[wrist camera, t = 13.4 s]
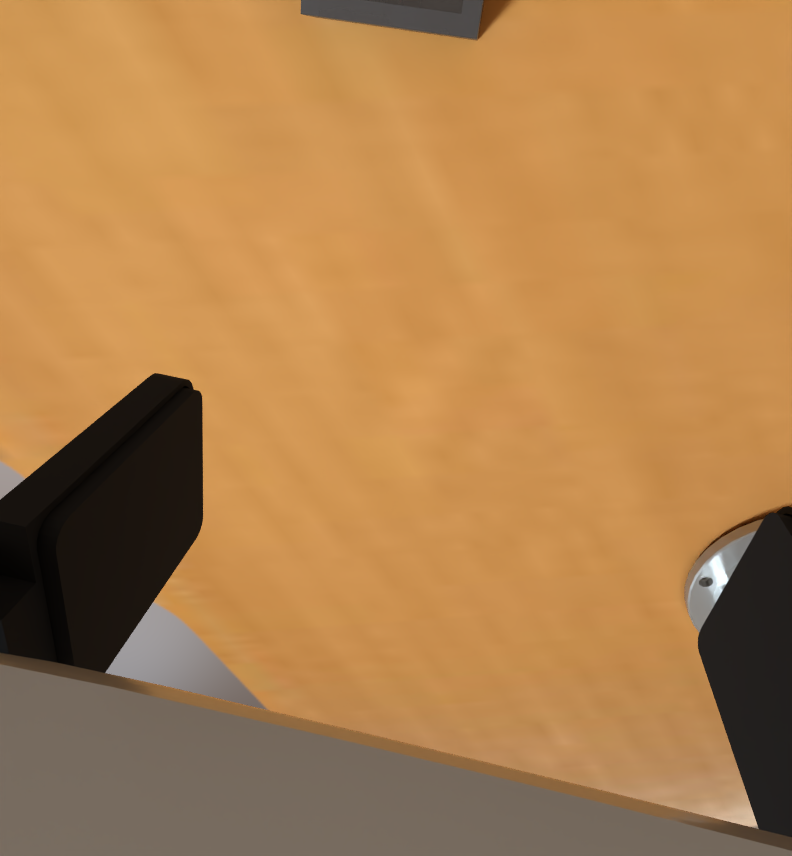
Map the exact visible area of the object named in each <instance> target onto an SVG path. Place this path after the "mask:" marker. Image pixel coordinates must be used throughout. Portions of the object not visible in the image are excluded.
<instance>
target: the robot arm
mask: <svg viewBox="0 0 792 856" xmlns="http://www.w3.org/2000/svg"><path fill="white" fill-rule="evenodd" d="M202 521H203V437H202V395H201V393H200V391H197V390H193V386H192V383H191V382H190V381H189V380H187V379H182V378H177V377H172V376H168V375H163V374H158V373H154V374H153V375H151V376H150V377H148V378H147V379H146V380H145V381H144V382H142V383H141V384H140V385H139V386H137V387H136V388H135V389H134V390H133V391H131V392H130V393H129V394H128V395H127V396H125V397H124V398H123V399H122V400H120V401H119V402H118V403H117V404H116V405H114V406H113V407H112V408H111V409H110V410H108V411H107V412H106V413H105V414H104V415H102V416H101V417H100V418H99V419H97V420H96V421H95V422H94V423H93V424H91V425H90V426H89V427H88V428H87V429H85V430H84V431H83V432H82V433H81V434H79V435H78V436H77V437H76V438H74V439H73V440H72V441H71V442H70V443H68V444H67V445H66V446H65V447H64V448H62V449H61V450H60V451H59V452H58V453H56V454H55V455H54V456H53V457H51V458H50V459H49V460H48V461H47V462H45V463H44V464H43V465H42V466H41V467H39V468H38V469H37V470H36V471H34V472H33V473H32V474H31V475H30V476H28V477H27V478H26V479H25V480H24V481H22V482H21V483H20V484H19V485H18V486H16V487H15V488H14V489H13V490H12V491H10V492H9V493H8V494H7V495H5V496H4V497H3V498H2V499H1V500H0V856H792V507H783V508H782V509H780V510H779V511H778V512H777V513H769V514H768V515H767V516H766V517H765V518H764V519H761V520H757V521H755V522H752V523H750V524H747V525H745V526H742V527H739V528H737V529H735V530H734V531H732V532H730V533H728V534H727V535H725V536H723V537H721V538H720V539H719V540H717V541H716V542H715V543H714V544H712V545H711V546H710V547H709V548H707V549H706V550H705V551H704V553H703V554H702V555H701V556H700V557H699V558H698V559H697V560H696V562H695V564H694V565H693V567H692V569H691V570H690V572H689V574H688V577H687V581H686V584H685V603H686V607H687V610H688V613H689V615H690V618H691V620H692V623H693V625H694V626H695V628H696V629H697V630H698V631H699V637H698V649H699V653H700V656H701V659H702V662H703V665H704V668H705V671H706V674H707V677H708V680H709V683H710V686H711V689H712V692H713V695H714V698H715V700H716V703H717V706H718V709H719V712H720V715H721V718H722V721H723V724H724V727H725V730H726V733H727V736H728V739H729V742H730V745H731V748H732V751H733V754H734V757H735V760H736V763H737V766H738V769H739V771H740V774H741V777H742V780H743V783H744V786H745V789H746V792H747V795H748V798H749V801H750V804H751V807H752V810H753V813H754V816H755V819H756V822H757V825H758V828H759V829H756V828H752V827H748V826H744V825H740V824H736V823H731V822H727V821H723V820H719V819H715V818H711V817H707V816H703V815H699V814H695V813H691V812H687V811H683V810H679V809H675V808H671V807H667V806H663V805H659V804H655V803H651V802H647V801H643V800H638V799H634V798H630V797H626V796H622V795H618V794H614V793H610V792H606V791H602V790H598V789H594V788H590V787H586V786H582V785H577V784H573V783H569V782H565V781H561V780H557V779H553V778H549V777H544V776H540V775H536V774H532V773H528V772H524V771H520V770H516V769H511V768H507V767H503V766H499V765H495V764H491V763H487V762H483V761H478V760H474V759H470V758H466V757H462V756H458V755H453V754H449V753H445V752H441V751H437V750H433V749H429V748H424V747H420V746H416V745H412V744H408V743H404V742H399V741H395V740H391V739H387V738H383V737H379V736H374V735H370V734H366V733H362V732H358V731H354V730H349V729H345V728H341V727H337V726H332V725H328V724H324V723H320V722H315V721H311V720H307V719H303V718H298V717H294V716H290V715H286V714H281V713H277V712H273V711H269V710H264V709H260V708H256V707H251V706H247V705H243V704H239V703H235V702H230V701H226V700H222V699H218V698H214V697H209V696H205V695H201V694H197V693H192V692H188V691H183V690H180V689H175V688H171V687H166V686H162V685H157V684H152V683H148V682H143V681H139V680H134V679H130V678H125V677H120V676H116V675H111V674H107V673H105V672H106V670H107V669H108V668H109V666H110V665H111V663H112V662H113V660H114V658H115V657H116V656H117V654H118V653H119V651H120V649H121V648H122V647H123V645H124V644H125V642H126V641H127V640H128V638H129V637H130V635H131V634H132V632H133V631H134V629H135V628H136V626H137V625H138V623H139V622H140V620H141V619H142V618H143V616H144V614H145V613H146V612H147V610H148V609H149V607H150V606H151V604H152V603H153V601H154V600H155V598H156V597H157V595H158V594H159V593H160V591H161V590H162V588H163V587H164V585H165V584H166V582H167V581H168V579H169V578H170V576H171V575H172V573H173V572H174V570H175V569H176V567H177V566H178V565H179V563H180V562H181V560H182V559H183V557H184V556H185V554H186V553H187V551H188V550H189V548H190V547H191V545H192V544H193V542H194V541H195V540H196V538H197V536H198V534H199V532H200V529H201V526H202Z"/></svg>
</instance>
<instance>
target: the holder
mask: <svg viewBox="0 0 792 856" xmlns="http://www.w3.org/2000/svg"><path fill="white" fill-rule="evenodd" d="M483 4H484V0H301V14H303V15H307V16H312V17H317V18H324V19H331V20H338V21H345V22H352V23H359V24H366V25H373V26H380V27H387V28H394V29H401V30H408V31H415V32H422V33H429V34H436V35H443V36H450V37H457V38H464V39H471V40H478V35H479V29H480V23H481V16H482V10H483Z"/></svg>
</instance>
